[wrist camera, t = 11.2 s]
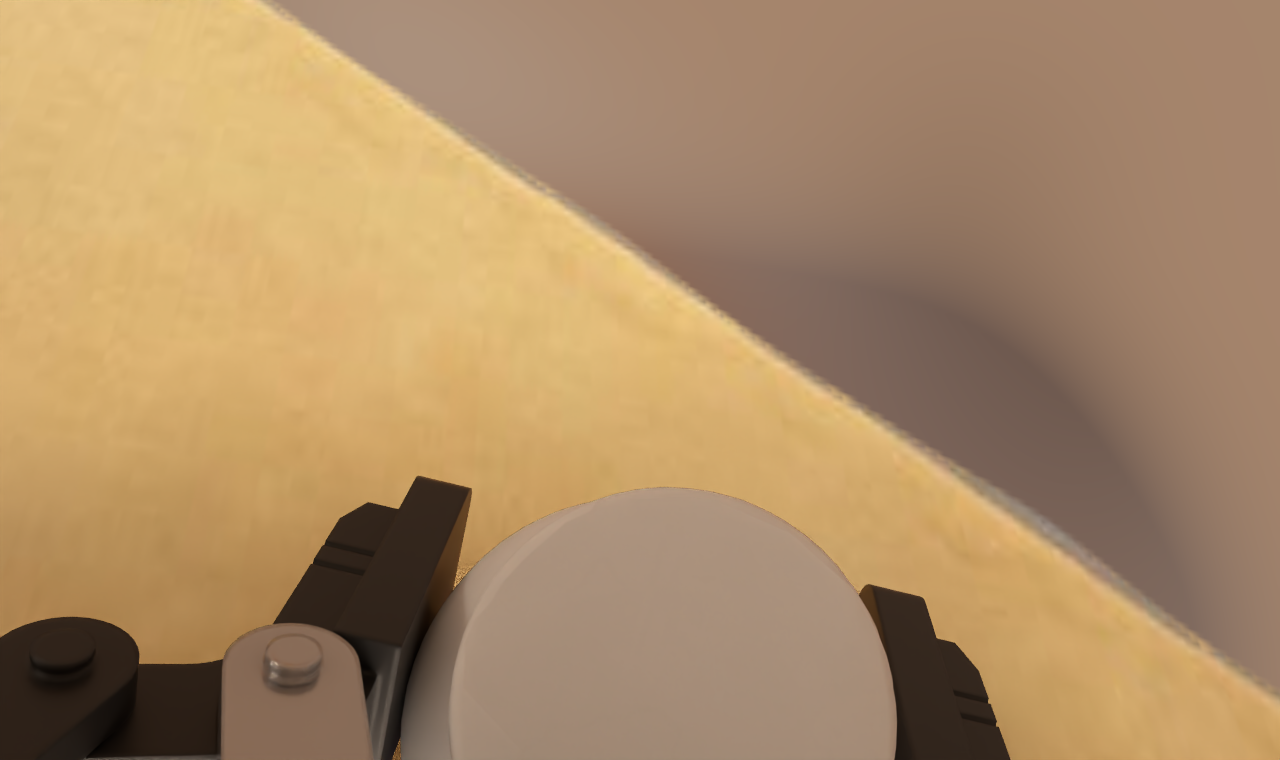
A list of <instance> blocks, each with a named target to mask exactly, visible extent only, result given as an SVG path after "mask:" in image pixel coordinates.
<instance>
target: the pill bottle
mask: <svg viewBox="0 0 1280 760" xmlns="http://www.w3.org/2000/svg"><path fill="white" fill-rule="evenodd" d="M896 736H897V714H896V701H895V695H894V690H893V680H892V675H891V671H890V667H889V663H888V659H887V655H886V653H885V650H884V647H883V645H882V642H881V640H880V637H879V634H878V630H877V628H876V626H875V624H874V622H873V620H872V617H871V615H870V613H869V612H868V610H867V608H866V607H865V605H864V603H863V602H862V600H861V598H860V597H859V595H858V593H857V592H856V590H855V589H854V587H853V586H852V584H851V583H850V582H849V581H848V579H847V578H846V577H845V575H844V574H843V573H842V571H841V570H840V569H839V567H838V566H837V565H836V564H835V563H834V562H833V561H832V560H831V559H830V557H829V556H828V555H827V554H826V553H825V552H824V551H823V550H822V549H821V548H820V547H818V546H817V545H816V544H815V543H814V542H813V541H812V540H810V539H809V538H808V537H807V536H805V535H804V534H803V533H801V532H800V531H798V530H797V529H796V528H794V527H793V526H791V525H790V524H789V523H787V522H786V521H784V520H782V519H781V518H779V517H777V516H775V515H773V514H772V513H770V512H768V511H766V510H764V509H762V508H760V507H757V506H755V505H753V504H751V503H748V502H746V501H743V500H741V499H737V498H734V497H730V496H726V495H723V494H719V493H715V492H711V491H704V490H696V489H689V488H672V487H658V488H646V489H637V490H632V491H627V492H622V493H617V494H613V495H610V496H607V497H604V498H601V499H597V500H595V501H592V502H589V503H584V504H580V505H576V506H573V507H569V508H566V509H562V510H560V511H557V512H554V513H552V514H549V515H547V516H545V517H543V518H541V519H539V520H537V521H535V522H533V523H531V524H529V525H527V526H525V527H523V528H522V529H520V530H519V531H517V532H515V533H514V534H512V535H511V536H509V537H508V538H506V539H505V540H503V541H502V542H501V543H499V544H498V545H497V546H496V547H495V548H493V549H492V550H491V551H490V552H488V553H487V554H486V555H485V556H484V557H483V558H482V559H481V560H480V561H479V562H478V563H477V564H476V565H475V566H474V567H473V568H472V569H471V570H470V571H469V572H468V573H467V574H466V576H465V577H464V578H463V579H462V580H461V581H460V583H459V584H458V585H457V586H456V587H455V589H454V590H453V591H452V592H451V594H450V595H449V597H448V598H447V599H446V601H445V602H444V604H443V605H442V607H441V608H440V610H439V611H438V613H437V615H436V616H435V618H434V620H433V621H432V623H431V625H430V627H429V629H428V631H427V633H426V635H425V637H424V639H423V641H422V643H421V646H420V648H419V651H418V653H417V656H416V658H415V661H414V663H413V667H412V670H411V674H410V677H409V681H408V684H407V689H406V695H405V701H404V707H403V713H402V719H401V738H400V741H401V760H894V758H895V751H896Z"/></svg>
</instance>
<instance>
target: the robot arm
mask: <svg viewBox="0 0 1280 760" xmlns="http://www.w3.org/2000/svg"><path fill="white" fill-rule="evenodd" d="M471 495H472V489H471V488H468V487H464V486H460V485H455V484H451V483H447V482H443V481H439V480H435V479H430V478H426V477H422V476H417V477H416V479H415V480H414V482H413V484H412V486H411V488H410V489H409V491H408V493H407V495H406V497H405V499H404V501H403V502H402V504H401V506H400V508H399V509H394V508H390V507H386V506H382V505H378V504H373V503H369V502H368V503H366V504H364V505H362V506H361V507H359V508H357V509H355V510H354V511H352V512H350V513H348V514H346V515H345V516H343V517H341V518H340V519H339V520H338V522H337V524H336V525H335V527H334V528H333V530H332V532H331V533H330V535H329V536H328V538H327V539H326V542H325V545H323V546H322V547H321V549H320V550H319V552H318V554H317V555H316V557H315V558H314V562H313V564H311V565H310V566H309V568H308V569H307V571H306V573H305V574H304V576H303V577H302V579H301V580H300V582H299V584H298V585H297V587H296V588H295V590H294V592H293V593H292V595H291V596H290V598H289V599H288V601H287V603H286V604H285V606H284V607H283V609H282V610H281V612H280V614H279V615H278V617H277V618H276V620H275V621H274V623H273V625H267V626H263V627H260V628H257V629H254V630H252V631H249V632H247V633H245V634H244V635H242V636H241V637H239V638H238V639H237V640H235V641H234V642H233V643H232V644H231V645H230V647H229V648H228V649H227V651H226V653H225V655H224V658H223V659H222V660H218V661H213V662H207V663H199V664H139V650H138V646H137V645H136V643H135V641H134V640H133V638H132V637H131V636H130V635H129V634H128V633H126V632H125V631H123V630H122V629H121V628H119V627H117V626H115V625H112V624H110V623H107V622H104V621H101V620H96V619H91V618H82V617H60V618H51V619H45V620H41V621H36V622H33V623H30V624H26V625H24V626H21V627H19V628H17V629H14V630H12V631H10V632H9V633H7V634H5V635H4V636H2V637H1V638H0V760H392V758H393V755H394V752H395V750H396V747H397V745H398V742H399V740H400V737H401V719H402V713H403V707H404V701H405V695H406V689H407V684H408V681H409V677H410V674H411V670H412V667H413V663H414V661H415V658H416V656H417V653H418V651H419V648H420V646H421V643H422V641H423V639H424V637H425V635H426V633H427V631H428V629H429V627H430V625H431V623H432V621H433V620H434V618H435V616H436V615H437V613H438V611H439V610H440V608H441V607H442V605H443V604H444V602H445V601H446V599H447V598H448V597H449V595H450V594H451V592H452V591H453V586H454V581H455V576H456V571H457V566H458V561H459V557H460V552H461V547H462V542H463V537H464V532H465V527H466V522H467V517H468V512H469V507H470V502H471ZM859 597H860V598H861V600H862V602H863V603H864V605H865V607H866V608H867V610H868V612H869V613H870V615H871V617H872V620H873V622H874V624H875V626H876V628H877V630H878V634H879V637H880V640H881V642H882V645H883V647H884V650H885V653H886V655H887V659H888V663H889V667H890V671H891V675H892V680H893V690H894V695H895V701H896V714H897V736H896V751H895V758H894V760H1010V757H1009V754H1008V752H1007V749H1006V746H1005V743H1004V740H1003V738H1002V735H1001V732H1000V729H999V727H996V722H997V721H996V718H995V715H994V712H993V709H992V707H991V704H988V699H989V698H988V695H987V693H986V690H985V687H984V684H983V681H982V679H981V676H980V673H979V671H978V669H977V668H976V667H975V666H974V665H973V664H972V662H971V661H970V660H969V659H968V658H967V657H966V655H965V654H964V653H963V652H962V651H961V650H960V648H959V647H958V646H957V645H956V644H955V643H953V642H949V641H945V640H941V639H937V638H936V635H935V632H934V629H933V625H932V622H931V619H930V616H929V613H928V609H927V606H926V603H925V601H924V599H923V598H922V597H920V596H916V595H911V594H907V593H903V592H899V591H895V590H891V589H886V588H882V587H878V586H874V585H870V584H868V585H866V586H865V587H864V588H863V589H862V591H861V592H860V594H859Z"/></svg>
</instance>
